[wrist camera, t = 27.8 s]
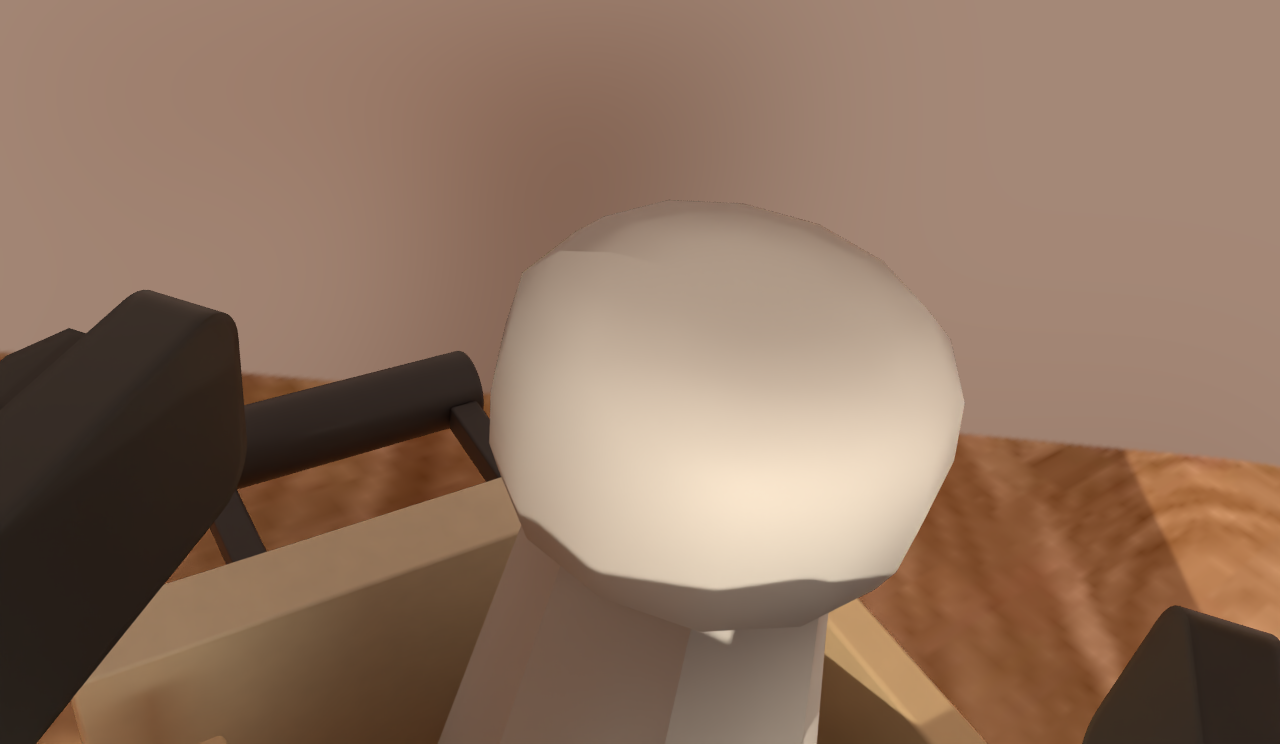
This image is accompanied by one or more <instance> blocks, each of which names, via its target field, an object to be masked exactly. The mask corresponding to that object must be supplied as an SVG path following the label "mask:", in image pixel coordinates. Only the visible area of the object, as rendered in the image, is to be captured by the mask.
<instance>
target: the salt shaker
mask: <svg viewBox="0 0 1280 744" xmlns="http://www.w3.org/2000/svg"><path fill="white" fill-rule="evenodd" d="M964 405H965V402H964V397H963V393H962V388H961V384H960V379H959V374H958V370H957V365H956V361H955V356H954V352H953V347H952V342H951V339H950V338H949V337H948V335H947V334H946V333H945V331H944V330H943V329H942V328H941V326H940V325H939V323H938V322H937V321H936V320H935V318H934V317H933V316H932V314H931V313H930V312H929V310H928V309H927V308H926V307H925V306H924V305H923V304H922V303H921V302H920V300H919V299H918V298H917V297H916V296H915V295H914V294H913V293H912V292H911V291H910V290H909V289H908V287H907V286H906V285H905V284H904V283H903V282H902V281H901V280H900V279H899V278H898V277H897V276H896V275H895V274H894V272H893V271H892V270H891V269H890V268H889V267H888V266H887V265H886V264H885V263H884V262H883V261H882V260H880V259H878V258H877V257H875V256H873V255H872V254H870V253H868V252H866V251H864V250H863V249H861V248H859V247H858V246H856V245H854V244H852V243H851V242H849V241H847V240H846V239H844V238H842V237H840V236H839V235H837V234H835V233H833V232H831V231H830V230H828V229H826V228H825V227H823V226H821V225H819V224H816V223H813V222H809V221H805V220H802V219H797V218H794V217H791V216H787V215H783V214H780V213H776V212H773V211H769V210H765V209H761V208H758V207H754V206H751V205H747V204H741V203H721V202H700V201H679V200H677V201H676V200H666V201H662V202H659V203H655V204H651V205H647V206H643V207H639V208H635V209H632V210H628V211H624V212H620V213H616V214H612V215H608V216H604V217H602V218H600V219H598V220H596V221H594V222H593V223H591V224H589V225H587V226H585V227H583V228H581V229H579V230H577V231H575V232H574V233H573V234H572V235H570V236H569V237H568V238H566V239H565V240H564V241H563V242H561V243H560V244H559V245H557V246H556V247H555V248H553V249H552V250H551V251H549V252H548V253H547V254H546V255H544V256H543V257H542V258H541V259H539V260H538V261H537V262H535V263H534V264H533V265H531V266H530V267H529V268H527V269H526V270H525V271H524V272H522V275H521V278H520V282H519V285H518V288H517V291H516V294H515V297H514V300H513V303H512V306H511V309H510V313H509V316H508V319H507V322H506V326H505V329H504V334H503V338H502V343H501V347H500V352H499V356H498V360H497V365H496V370H495V373H494V378H493V383H492V387H491V398H490V434H489V444H490V447H491V450H492V452H493V455H494V458H495V461H496V464H497V467H498V470H499V472H500V475H501V477H502V480H503V482H504V484H505V487H506V489H507V492H508V494H509V497H510V499H511V501H512V504H513V506H514V509H515V511H516V514H517V516H518V519H519V521H520V523H521V527H520V530H519V532H518V535H517V538H516V540H515V543H514V545H513V548H512V551H511V553H510V556H509V558H508V561H507V564H506V566H505V569H504V572H503V574H502V577H501V579H500V582H499V585H498V587H497V590H496V593H495V595H494V598H493V600H492V603H491V606H490V608H489V611H488V613H487V616H486V619H485V621H484V624H483V627H482V629H481V632H480V634H479V637H478V640H477V642H476V645H475V647H474V650H473V653H472V655H471V658H470V661H469V663H468V666H467V668H466V671H465V674H464V676H463V679H462V682H461V684H460V687H459V689H458V692H457V695H456V697H455V700H454V702H453V705H452V708H451V710H450V713H449V716H448V718H447V721H446V723H445V726H444V729H443V731H442V734H441V737H440V739H439V742H438V744H817V735H818V723H819V711H820V699H821V687H822V675H823V663H824V651H825V639H826V629H827V621H828V613H829V612H831V611H833V610H835V609H837V608H839V607H841V606H843V605H845V604H847V603H849V602H851V601H853V600H855V599H857V598H859V597H861V596H863V595H865V594H867V593H869V592H871V591H873V590H875V589H876V588H877V587H879V586H880V585H881V584H882V583H883V582H885V581H886V580H887V579H888V578H890V577H891V576H892V575H893V574H895V573H896V572H897V570H898V568H899V566H900V564H901V562H902V561H903V559H904V557H905V555H906V553H907V551H908V549H909V548H910V546H911V544H912V542H913V540H914V538H915V536H916V535H917V533H918V531H919V529H920V527H921V525H922V523H923V521H924V519H925V518H926V516H927V514H928V512H929V510H930V508H931V506H932V504H933V502H934V500H935V498H936V496H937V494H938V492H939V490H940V488H941V486H942V484H943V482H944V480H945V478H946V476H947V474H948V472H949V470H950V468H951V466H952V464H953V462H954V458H955V453H956V447H957V442H958V437H959V432H960V426H961V421H962V415H963V410H964Z"/></svg>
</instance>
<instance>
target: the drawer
mask: <svg viewBox="0 0 1280 744" xmlns="http://www.w3.org/2000/svg"><path fill="white" fill-rule="evenodd" d="M483 406H484V399H483V391H482V386H481V382H480V379H479V376H478V373H477V371H476V368H475V367H474V364H473V363H472V361H471V359H470V358H469V357H468V356H467V355H466V354H465V353H464V352H461V351H455V352H451V353H448V354H443V355H439V356H435V357H432V358H428V359H424V360H420V361H416V362H412V363H408V364H404V365H400V366H397V367H393V368H388V369H385V370H381V371H377V372H373V373H369V374H365V375H361V376H357V377H353V378H349V379H345V380H341V381H337V382H333V383H329V384H326V385H322V386H318V387H314V388H310V389H306V390H302V391H298V392H294V393H290V394H286V395H282V396H279V397H275V398H271V399H267V400H263V401H259V402H255V403H251V404H247V405H244V410H245V422H246V434H247V452H246V459H245V464H244V467H243V471H242V474H241V477H240V480H239V483H238V485H237V487H236V490H235V492H234V494H233V496H232V498H231V499H230V501H229V503H228V504H227V506H226V507H225V509H224V510H223V511H222V513H221V514H220V515H219V516H218V518H217V519H216V520H215V521H214V523H213V524H212V525H211V526H210V529H211V532H212V534H213V536H214V538H215V541H216V543H217V545H218V547H219V549H220V552H221V554H222V556H223V558H224V560H225V563H226V565H224V566H221V567H218V568H214V569H211V570H208V571H205V572H202V573H199V574H196V575H192V576H189V577H186V578H183V579H180V580H177V581H174V582H170V583H167V584H164V585H163V586H162V587H161V589H160V590H159V591H158V592H157V594H156V595H155V596H154V597H153V599H152V600H151V601H150V602H149V604H148V605H147V606H146V607H145V609H144V610H143V611H142V612H141V614H140V615H139V616H138V617H137V618H136V620H135V621H134V622H133V623H132V625H131V626H130V627H129V628H128V630H127V631H126V632H125V633H124V635H123V636H122V637H121V638H120V640H119V641H118V642H117V643H116V645H115V646H114V647H113V648H112V650H111V651H110V652H109V653H108V655H107V656H106V657H105V658H104V660H103V661H102V662H101V663H100V665H99V666H98V667H97V668H96V670H95V671H94V672H93V673H92V675H91V676H90V677H89V678H88V680H87V681H86V682H85V683H84V684H83V686H82V687H81V688H80V689H79V691H78V692H77V693H76V694H75V696H74V697H73V698H72V699H71V703H72V707H73V711H74V714H75V718H76V722H77V726H78V730H79V733H80V737H81V741H82V744H438V742H439V739H440V737H441V734H442V731H443V729H444V726H445V723H446V721H447V718H448V716H449V713H450V710H451V708H452V705H453V702H454V700H455V697H456V695H457V692H458V689H459V687H460V684H461V682H462V679H463V676H464V674H465V671H466V668H467V666H468V663H469V661H470V658H471V655H472V653H473V650H474V647H475V645H476V642H477V640H478V637H479V634H480V632H481V629H482V627H483V624H484V621H485V619H486V616H487V613H488V611H489V608H490V606H491V603H492V600H493V598H494V595H495V593H496V590H497V587H498V585H499V582H500V579H501V577H502V574H503V572H504V569H505V566H506V564H507V561H508V558H509V556H510V553H511V551H512V548H513V545H514V543H515V540H516V538H517V535H518V532H519V530H520V527H521V523H520V521H519V519H518V516H517V514H516V511H515V509H514V506H513V504H512V501H511V499H510V497H509V494H508V492H507V489H506V487H505V484H504V482H503V480H502V477H501V475H500V472H499V470H498V467H497V464H496V461H495V458H494V455H493V452H492V450H491V447H490V444H489V434H490V419H489V418H488V416H487V415H486V413H485V412H484V411H483ZM448 428H450V429H451V431H452V432H453V434H454V435H455V437H456V438H457V439H458V441H459V442H460V444H461V445H462V447H463V448H464V450H465V451H466V453H467V454H468V456H469V457H470V459H471V460H472V461H473V463H474V464H475V466H476V467H477V469H478V470H479V472H480V473H481V475H482V476H483V478H484V479H485V481H486V482H485V483H482V484H478V485H475V486H472V487H469V488H466V489H463V490H460V491H456V492H453V493H450V494H447V495H444V496H441V497H438V498H434V499H431V500H428V501H425V502H422V503H419V504H416V505H412V506H409V507H406V508H403V509H400V510H397V511H394V512H390V513H387V514H384V515H381V516H378V517H375V518H372V519H368V520H365V521H362V522H359V523H356V524H353V525H350V526H346V527H343V528H340V529H337V530H334V531H331V532H328V533H324V534H321V535H318V536H315V537H312V538H309V539H306V540H302V541H299V542H296V543H293V544H290V545H287V546H284V547H280V548H277V549H274V550H271V551H268V552H267V551H266V549H265V547H264V545H263V543H262V541H261V539H260V537H259V534H258V532H257V530H256V528H255V526H254V524H253V522H252V520H251V518H250V516H249V514H248V512H247V510H246V508H245V506H244V504H243V501H242V499H241V497H240V495H239V493H238V491H237V489H240V488H244V487H247V486H251V485H254V484H258V483H261V482H265V481H268V480H272V479H275V478H279V477H282V476H285V475H289V474H292V473H296V472H299V471H303V470H306V469H310V468H313V467H317V466H320V465H324V464H327V463H330V462H334V461H337V460H341V459H344V458H348V457H351V456H355V455H358V454H362V453H365V452H369V451H372V450H375V449H379V448H382V447H386V446H389V445H393V444H396V443H400V442H403V441H407V440H410V439H414V438H417V437H421V436H424V435H427V434H431V433H434V432H438V431H441V430H445V429H448ZM817 744H988V743H987V742H986V741H985V740H984V739H983V738H982V737H981V736H980V734H979V733H978V732H977V731H976V730H975V729H974V728H973V727H972V726H971V724H970V723H969V722H968V721H967V720H966V719H965V718H964V717H963V715H962V714H961V713H960V712H959V711H958V710H957V709H956V708H955V706H954V705H953V704H952V703H951V702H950V701H949V700H948V699H947V697H946V696H945V695H944V694H943V693H942V692H941V691H940V690H939V688H938V687H937V686H936V685H935V684H934V683H933V682H932V681H931V679H930V678H929V677H928V676H927V675H926V674H925V673H924V672H923V670H922V669H921V668H920V667H919V666H918V665H917V664H916V663H915V661H914V660H913V659H912V658H911V657H910V656H909V655H908V654H907V652H906V651H905V650H904V649H903V648H902V647H901V646H900V645H899V643H898V642H897V641H896V640H895V639H894V638H893V637H892V636H891V634H890V633H889V632H888V631H887V630H886V629H885V628H884V627H883V625H882V624H881V623H880V622H879V621H878V620H877V619H876V618H875V616H874V615H873V614H872V613H871V612H870V611H869V610H868V609H867V608H866V606H865V605H864V604H863V603H862V602H861V601H860V600H859V599H858V598H857V599H855V600H853V601H851V602H849V603H847V604H845V605H843V606H841V607H839V608H837V609H835V610H833V611H831V612H829V613H828V621H827V629H826V639H825V651H824V663H823V675H822V687H821V699H820V711H819V723H818V735H817Z"/></svg>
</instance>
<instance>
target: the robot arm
mask: <svg viewBox="0 0 1280 744" xmlns="http://www.w3.org/2000/svg"><path fill="white" fill-rule="evenodd" d="M246 452H247V434H246V422H245V410H244V399H243V387H242V375H241V363H240V352H239V339H238V332H237V327H236V324H235V322H234V321H233V319H232V318H231V317H230V316H229V315H228V314H226V313H223V312H219V311H216V310H213V309H210V308H206V307H203V306H200V305H196V304H193V303H190V302H187V301H183V300H180V299H177V298H174V297H170V296H167V295H164V294H160V293H157V292H154V291H151V290H141V291H137V292H135V293H133V294H132V295H130V296H129V297H127V298H126V299H125V300H124V301H122V302H121V303H120V304H119V305H118V306H117V307H116V308H115V309H113V310H112V311H111V312H110V313H109V314H108V315H107V316H106V317H104V318H103V319H102V320H101V321H100V322H99V323H98V324H97V325H96V326H94V327H93V328H92V329H91V330H90V331H89V332H88V333H83V332H80V331H76V330H73V329H70V328H69V329H66V330H64V331H62V332H59V333H57V334H55V335H53V336H50V337H48V338H46V339H44V340H42V341H39V342H37V343H35V344H32V345H30V346H28V347H26V348H23V349H21V350H19V351H16V352H14V353H12V354H10V355H7V356H6V357H5V358H3V359H2V360H1V361H0V744H36V743H37V742H38V741H39V739H40V738H41V737H42V736H43V734H44V733H45V732H46V731H47V729H48V728H49V727H50V726H51V724H52V723H53V722H54V721H55V719H56V718H57V717H58V716H59V714H60V713H61V712H62V711H63V709H64V708H65V707H66V706H67V704H68V703H69V702H70V701H71V699H72V698H73V697H74V696H75V694H76V693H77V692H78V691H79V689H80V688H81V687H82V686H83V684H84V683H85V682H86V681H87V680H88V678H89V677H90V676H91V675H92V673H93V672H94V671H95V670H96V668H97V667H98V666H99V665H100V663H101V662H102V661H103V660H104V658H105V657H106V656H107V655H108V653H109V652H110V651H111V650H112V648H113V647H114V646H115V645H116V643H117V642H118V641H119V640H120V638H121V637H122V636H123V635H124V633H125V632H126V631H127V630H128V628H129V627H130V626H131V625H132V623H133V622H134V621H135V620H136V618H137V617H138V616H139V615H140V614H141V612H142V611H143V610H144V609H145V607H146V606H147V605H148V604H149V602H150V601H151V600H152V599H153V597H154V596H155V595H156V594H157V592H158V591H159V590H160V589H161V587H162V586H163V585H164V584H165V582H166V581H167V580H168V579H169V577H170V576H171V575H172V574H173V572H174V571H175V570H176V569H177V567H178V566H179V565H180V564H181V562H182V561H183V560H184V559H185V557H186V556H187V555H188V554H189V552H190V551H191V550H192V549H193V548H194V546H195V545H196V544H197V543H198V541H199V540H200V539H201V538H202V536H203V535H204V534H205V533H206V531H207V530H208V529H209V528H210V526H211V525H212V524H213V523H214V521H215V520H216V519H217V518H218V516H219V515H220V514H221V513H222V511H223V510H224V509H225V507H226V506H227V504H228V503H229V501H230V499H231V498H232V496H233V494H234V492H235V490H236V487H237V485H238V483H239V480H240V477H241V474H242V471H243V467H244V464H245V459H246ZM1082 744H1280V641H1279V639H1278V638H1277V637H1275V636H1274V635H1272V634H1269V633H1266V632H1263V631H1259V630H1256V629H1253V628H1249V627H1246V626H1243V625H1240V624H1236V623H1233V622H1230V621H1226V620H1223V619H1220V618H1216V617H1213V616H1210V615H1207V614H1203V613H1200V612H1197V611H1193V610H1190V609H1187V608H1184V607H1180V606H1172V607H1170V608H1168V609H1167V610H1165V611H1164V612H1163V613H1162V614H1161V616H1160V617H1159V618H1158V620H1157V621H1156V622H1155V624H1154V625H1153V627H1152V628H1151V630H1150V631H1149V633H1148V634H1147V636H1146V637H1145V639H1144V640H1143V642H1142V643H1141V645H1140V646H1139V648H1138V649H1137V651H1136V652H1135V654H1134V655H1133V657H1132V658H1131V660H1130V661H1129V663H1128V664H1127V666H1126V667H1125V669H1124V670H1123V672H1122V673H1121V675H1120V676H1119V678H1118V679H1117V681H1116V682H1115V684H1114V685H1113V687H1112V688H1111V690H1110V691H1109V693H1108V694H1107V696H1106V697H1105V699H1104V700H1103V702H1102V703H1101V705H1100V706H1099V708H1098V709H1097V711H1096V713H1095V714H1094V716H1093V718H1092V720H1091V722H1090V724H1089V726H1088V729H1087V731H1086V734H1085V737H1084V740H1083V743H1082Z"/></svg>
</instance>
